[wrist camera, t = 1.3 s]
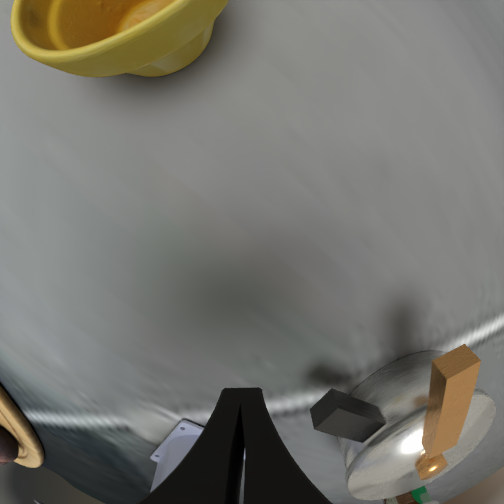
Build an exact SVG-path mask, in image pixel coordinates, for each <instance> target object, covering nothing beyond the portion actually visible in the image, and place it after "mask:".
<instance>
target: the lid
mask: <svg viewBox="0 0 504 504" xmlns="http://www.w3.org/2000/svg"><path fill="white" fill-rule="evenodd" d="M480 362H481V360H480V359H479V358H478V357H477V356H476V355H475V354H474V353H473V352H472V351H471V350H470V349H469V348H468V347H467V346H466V345H465V344H463V345H462V346H460V347H458V348H456V349H454V350H452V351H450V352H448V353H446V354H444V355H442V356H440V357H438V358H436V359H434V360H432V367H431V379H430V388H429V397H428V404H427V405H425V406H423V407H421V408H419V409H418V410H416V411H414V412H412V413H411V414H409V415H407V416H406V417H404V418H403V419H401V420H399V421H398V422H396V423H395V424H394V425H392V426H391V427H389V428H388V429H386V430H385V431H384V432H382V433H381V434H380V435H378V436H377V437H376V438H375V439H373V440H372V441H371V442H370V443H369V444H367V445H366V446H365V447H364V448H363V449H362V450H361V451H360V452H359V453H358V454H357V455H356V457H355V458H354V459H353V460H352V462H351V463H350V465H349V467H348V468H347V471H346V474H345V479H346V483H347V487H348V491H349V493H350V494H351V495H352V496H353V497H355V498H358V499H362V500H380V499H386V498H391V497H395V496H398V495H402V494H405V493H407V492H410V491H413V490H415V489H417V488H420V487H422V486H424V485H426V484H428V483H429V482H431V481H433V480H435V479H437V478H438V477H440V476H441V475H443V474H444V473H446V472H447V471H449V470H450V469H452V468H453V467H454V466H456V465H457V464H458V463H459V462H460V461H462V460H463V459H464V458H465V457H466V456H467V455H468V454H469V453H470V452H471V451H472V450H473V449H474V448H475V447H476V446H477V445H478V444H479V442H480V441H481V440H482V439H483V437H484V436H485V434H486V433H487V431H488V430H489V428H490V426H491V424H492V422H493V420H494V417H495V412H496V406H495V403H494V401H493V400H492V399H491V398H490V397H489V395H488V394H487V393H486V392H485V391H483V390H482V389H477V388H475V384H476V380H477V376H478V371H479V367H480Z"/></svg>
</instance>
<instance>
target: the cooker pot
mask: <svg viewBox="0 0 504 504" xmlns="http://www.w3.org/2000/svg"><path fill="white" fill-rule="evenodd" d="M444 354H446V353H444V352H440V351H423V352H417V353H414V354H411V355H407V356H405V357H402V358H400V359H398V360H396V361H394V362H392V363H390V364H388V365H386V366H384V367H383V368H381V369H379V370H378V371H377V372H375V373H374V374H372V375H371V376H370V377H368V378H367V379H366V380H364V381H363V382H362V383H361V384H360V385H359V386H358V387H357V388H356V389H355V390H354V391H353V392H352V393H351V394H350V395H347V394H344V393H342V392H340V391H337V390H335V389H332V388H331V389H330V390H329V391H328V392H327V393H326V394H325V395H324V396H323V397H322V398H321V399H320V400H319V401H318V402H317V403H316V404H315V405H314V406H313V407H312V408H311V409H310V412H311V417H312V422H313V426H314V429H315V430H318V431H321V432H325V433H328V434H331V435H335V436H337V437H338V441H339V444H340V448H341V451H342V455H343V459H344V462H345V466H346V470H347V468H348V467H349V465H350V463H351V462H352V460H353V459H354V458H355V457H356V455H357V454H358V453H359V452H360V451H361V450H362V449H363V448H364V447H365V446H366V445H367V444H369V443H370V442H371V441H372V440H373V439H375V438H376V437H377V436H378V435H380V434H381V433H382V432H384V431H385V430H386V429H388V428H389V427H391V426H392V425H394V424H395V423H396V422H398V421H399V420H401V419H403V418H404V417H406V416H407V415H409V414H411V413H412V412H414V411H416V410H418V409H419V408H421V407H423V406H425V405H427V404H428V397H429V388H430V379H431V367H432V360H434V359H436V358H438V357H440V356H442V355H444ZM475 388H477V389H479V388H478V387H477V386H476V385H475Z"/></svg>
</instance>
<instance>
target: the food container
mask: <svg viewBox="0 0 504 504" xmlns="http://www.w3.org/2000/svg"><path fill="white" fill-rule="evenodd" d="M383 503H384V504H439V502H438V501H432V499H431V497H430V495H429V494H428V492H427V490H426V488H425V486H422V487H420V488H417V489H415V490H413V491H410V492H407V493H405V494H402V495H398V496H395V497H391V498H386V499H383Z"/></svg>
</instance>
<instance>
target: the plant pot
mask: <svg viewBox="0 0 504 504" xmlns="http://www.w3.org/2000/svg"><path fill="white" fill-rule="evenodd" d="M228 1H229V0H14V3H13V6H12V11H11V31H12V35H13V38H14V40H15V43H16V44H17V46H18V47H19V49H20V50H21V51H22V52H23V53H24V54H26V55H27V56H28V57H30V58H32V59H34V60H36V61H38V62H40V63H43V64H45V65H48V66H50V67H53V68H56V69H59V70H61V71H64V72H67V73H71V74H74V75H79V76H84V77H108V76H114V75H119V74H124V73H131V74H136V75H140V76H146V77H157V76H164V75H167V74H170V73H173V72H176V71H178V70H180V69H182V68H184V67H186V66H187V65H189V64H190V63H192V62H193V61H194V60H195V59H196V58H197V57H199V55H200V54H201V53H202V52H203V50H204V49H205V48H206V46H207V44H208V42H209V40H210V38H211V35H212V30H213V25H214V21H215V19H216V18H217V16H218V15H219V14H220V13H221V12H222V10H223V9H224V7H225V6H226V4H227V3H228Z"/></svg>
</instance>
